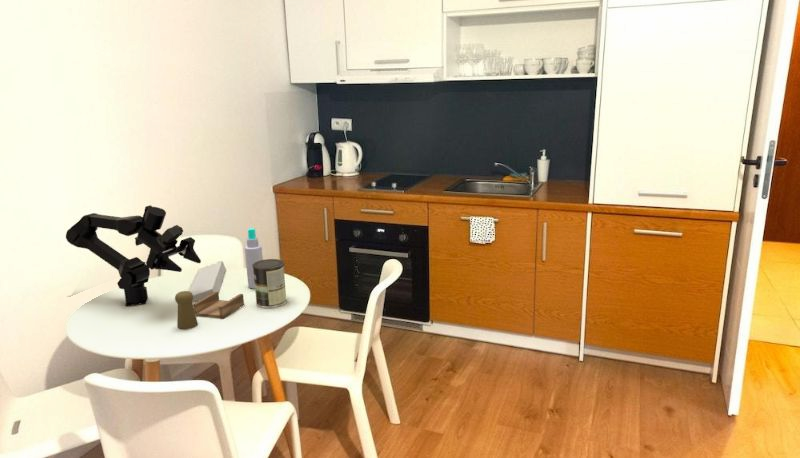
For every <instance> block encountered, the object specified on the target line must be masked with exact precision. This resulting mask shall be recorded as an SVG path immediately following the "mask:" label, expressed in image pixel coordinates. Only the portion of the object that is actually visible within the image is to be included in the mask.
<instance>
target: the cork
mask: <svg viewBox="0 0 800 458" xmlns="http://www.w3.org/2000/svg"><path fill="white" fill-rule="evenodd" d="M192 300H193V295H192V293H191V292H189V291H188V290H182V291H179V292H177V293H176V294H175V297H174V301H175V303H176V305H177V324H176V325H177V329H178V330H191V329H194V328H196V327H197V326H198V325H199V323H198V319H197V316H196V315H195V312H194V308H193V304H194V303H192Z"/></svg>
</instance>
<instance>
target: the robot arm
mask: <svg viewBox="0 0 800 458" xmlns="http://www.w3.org/2000/svg"><path fill="white" fill-rule="evenodd" d="M166 215H167V212H166V210H165V209H164V208H162V207H161V208H160V207H158V206H157V207H156V206H152V205H151V204H150V205H146V206H145V207H144V213H143V215H129V216H122V217H120V216H113V215H106V214H99V213H95V212H93V213H92V212H91V213H89V214H85V215H83V216H82V217H81V218H80V219H79V220H78V221H77V222H75V224H73V225H72V226H71V227H70V228H69V229H67V231H66V233H65V240H66V241H67V242H68V243H69V244H70V245H71V246H74V247H76V248H80V249H85V250H88V251H90V252H91V253H92V254H94V255H95V256H98V258H99V259H101V260H103V261H104V262H105V263H107V264H108V265H110V266H111V267H113V268H114V269H116V270H117V271H118V274H119V280H118V281H117V283H116V284H117V286H118V289H120V290H123V292H124V298H125V307H129V306H136V305H143V304H146V303H147V301H148V299H149V295H148V287H147V286H145V284H146V283H149V278H150V275H151V271H152V270H157V271H158V270H163V271H172V272H178V273H181V272H182V271H183V269H182V267H180V265H178V264H177V263H176V262H175V261H173V260H172V259H171V258H170V257H172V256H174V255H179V256H180V257H183V259H186V260H189V261H191V262H194V263H196V264H201V263H202V260H201V258H200V257H199V255H198V254H197V252H196V251H195V249H194V246H195V242H196V240H195V239H194V238H193V237H191V236H189V237H186V238H184V239H181V240H180V242H179V245H177V244H178V238H179V237H180V236H182V235H183V232H184V229H183V228H182V227H181V226H180V225H178V224H176V225H173V226H172V227H168V228H167V229H166V230H165V231H164V232H163V233H160V232H158V230H161V229H162V226H163V223H164V222H165V221H164V220H165V218H166ZM98 228H99V229H107V230H113V231H117V232H118V233H119V234H120V235H123V236H125V237H129V236H133V235H136V234H137V236H136V237H134V240H135V241H134V242H135V246H136V247H137V246H140V245H145V246H146V247H147V248H148V249H150V250H149V253H148V255H147V259H146V261H143V260H142V259H140V258H139V257H137V256H135V257H132V258H128V257H126V256H125V255H123V254H122V253H120V252H119V251H118V250H116V249H115V248H114V247H112V246H110V245H109V244H107V243H106V242H104V241H103V240H101V239H100V238H99V237H98V234H97V231H98V230H99V229H98ZM150 270H151V271H150Z"/></svg>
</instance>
